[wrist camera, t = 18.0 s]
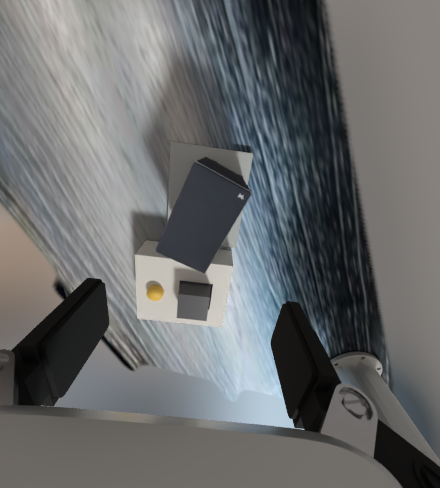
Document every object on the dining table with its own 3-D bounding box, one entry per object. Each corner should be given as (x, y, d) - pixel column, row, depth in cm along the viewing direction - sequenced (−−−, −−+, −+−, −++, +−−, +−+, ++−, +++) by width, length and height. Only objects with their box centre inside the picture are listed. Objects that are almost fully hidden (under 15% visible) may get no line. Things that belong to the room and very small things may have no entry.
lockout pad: (235, 245, 34) (235, 247, 33) (168, 237, 34) (167, 239, 33) (252, 153, 28) (253, 153, 28) (171, 141, 28) (170, 141, 27)
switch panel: (221, 306, 39) (221, 331, 34) (147, 298, 39) (135, 322, 33) (231, 250, 34) (233, 269, 29) (146, 240, 34) (132, 257, 28)
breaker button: (208, 295, 36) (206, 321, 31) (183, 292, 36) (176, 318, 30) (211, 273, 34) (209, 297, 29) (185, 270, 34) (178, 294, 29)
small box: (202, 153, 28) (192, 156, 18) (245, 177, 29) (256, 191, 19) (172, 220, 32) (151, 252, 22) (210, 239, 33) (206, 276, 23)
